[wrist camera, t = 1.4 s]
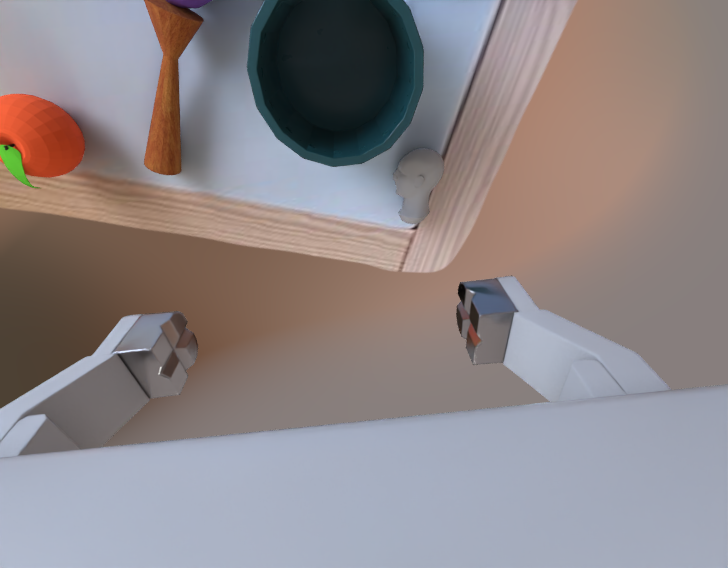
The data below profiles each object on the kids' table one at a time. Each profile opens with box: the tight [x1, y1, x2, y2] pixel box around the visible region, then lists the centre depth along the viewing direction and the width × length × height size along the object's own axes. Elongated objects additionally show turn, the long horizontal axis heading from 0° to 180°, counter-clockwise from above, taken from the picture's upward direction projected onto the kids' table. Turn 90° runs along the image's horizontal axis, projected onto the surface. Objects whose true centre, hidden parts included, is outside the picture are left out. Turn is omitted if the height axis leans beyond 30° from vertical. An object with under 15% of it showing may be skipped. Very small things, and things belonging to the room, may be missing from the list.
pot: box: [247, 0, 424, 167], centre depth 29 cm, size 12×12×10 cm
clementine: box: [0, 94, 85, 188], centre depth 32 cm, size 8×7×7 cm
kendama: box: [144, 0, 212, 175], centre depth 29 cm, size 6×6×20 cm
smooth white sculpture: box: [393, 148, 444, 224], centre depth 38 cm, size 4×8×5 cm
